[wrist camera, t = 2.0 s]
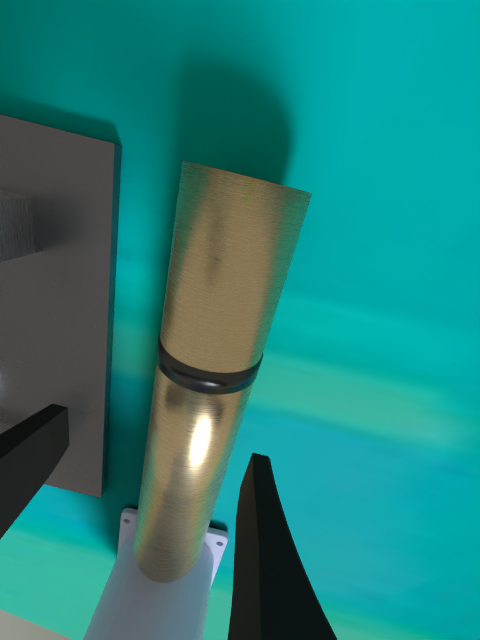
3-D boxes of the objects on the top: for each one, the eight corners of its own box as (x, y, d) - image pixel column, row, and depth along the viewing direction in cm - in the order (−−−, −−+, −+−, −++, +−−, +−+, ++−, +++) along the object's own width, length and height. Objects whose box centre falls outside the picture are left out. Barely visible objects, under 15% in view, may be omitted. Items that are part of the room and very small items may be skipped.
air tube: (196, 500, 22) (209, 572, 18) (132, 512, 20) (132, 594, 16) (278, 185, 13) (341, 200, 9) (172, 158, 11) (194, 162, 7)
